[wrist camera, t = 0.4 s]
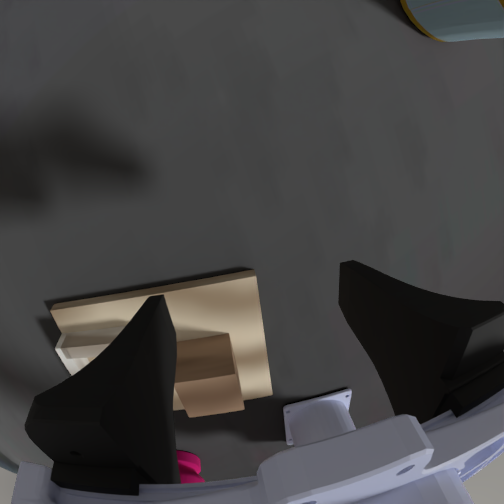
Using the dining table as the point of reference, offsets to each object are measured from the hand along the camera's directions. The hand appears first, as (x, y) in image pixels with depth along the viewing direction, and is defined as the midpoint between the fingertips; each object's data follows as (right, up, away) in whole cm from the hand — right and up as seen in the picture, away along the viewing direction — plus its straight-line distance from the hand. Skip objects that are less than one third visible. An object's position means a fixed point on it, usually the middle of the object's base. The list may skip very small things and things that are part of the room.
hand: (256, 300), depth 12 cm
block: (-4, -7, +13) cm, 15 cm away
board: (-8, -7, +13) cm, 17 cm away
